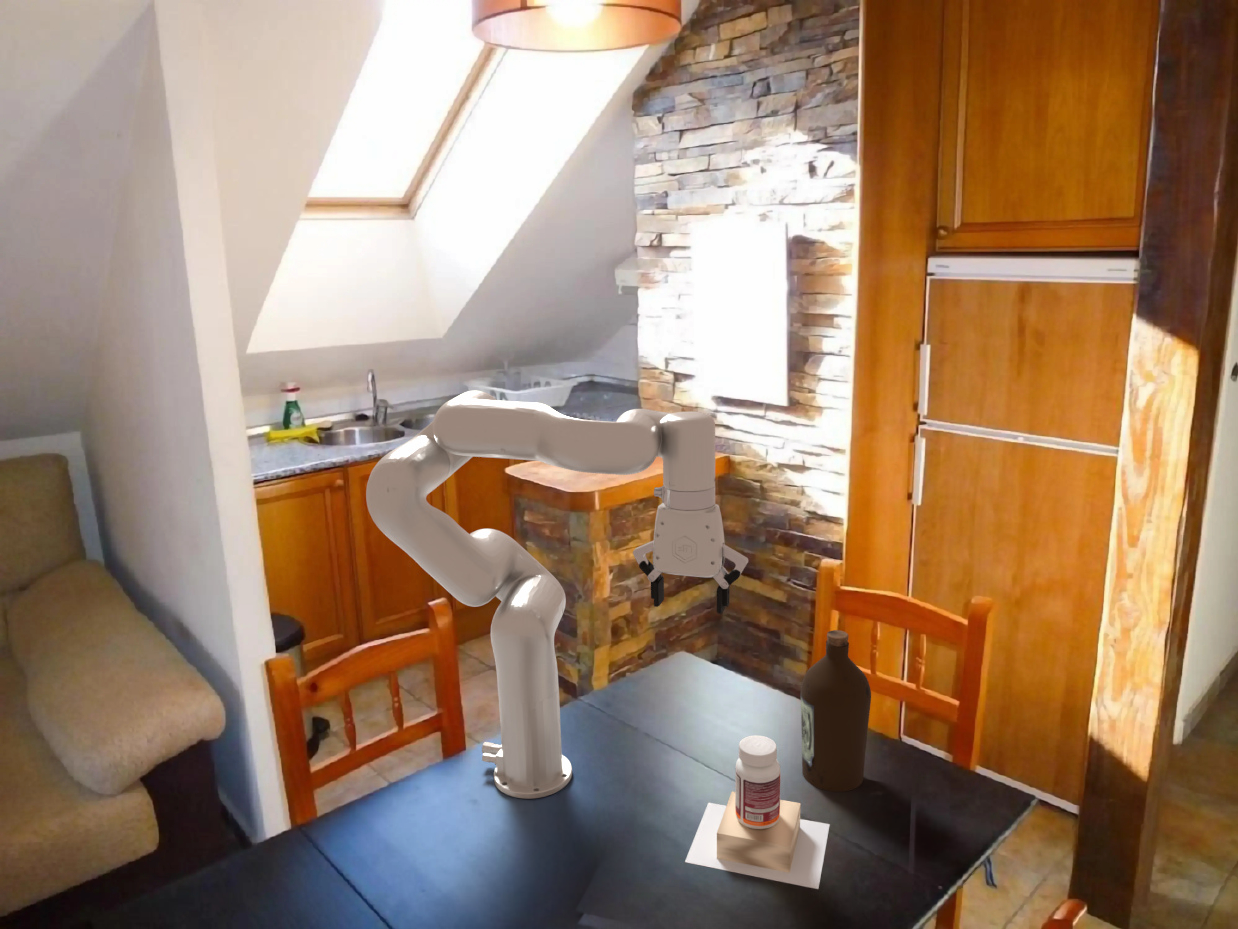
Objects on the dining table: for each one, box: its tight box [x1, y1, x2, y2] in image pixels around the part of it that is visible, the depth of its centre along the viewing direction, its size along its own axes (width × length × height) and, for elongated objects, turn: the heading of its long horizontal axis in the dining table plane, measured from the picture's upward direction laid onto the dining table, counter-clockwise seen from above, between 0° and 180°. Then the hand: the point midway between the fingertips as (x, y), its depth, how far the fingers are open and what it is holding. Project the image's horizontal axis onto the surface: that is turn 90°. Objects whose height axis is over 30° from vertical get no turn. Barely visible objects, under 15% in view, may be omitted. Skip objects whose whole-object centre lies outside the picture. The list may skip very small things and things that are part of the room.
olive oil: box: [799, 629, 872, 793], centre depth 140 cm, size 11×11×25 cm
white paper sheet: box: [684, 802, 831, 890], centre depth 127 cm, size 18×14×1 cm
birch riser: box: [717, 790, 802, 873], centre depth 126 cm, size 10×10×4 cm
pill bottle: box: [734, 734, 781, 829], centre depth 124 cm, size 6×6×11 cm
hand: (689, 606), depth 135 cm, fingers open, 9 cm apart
